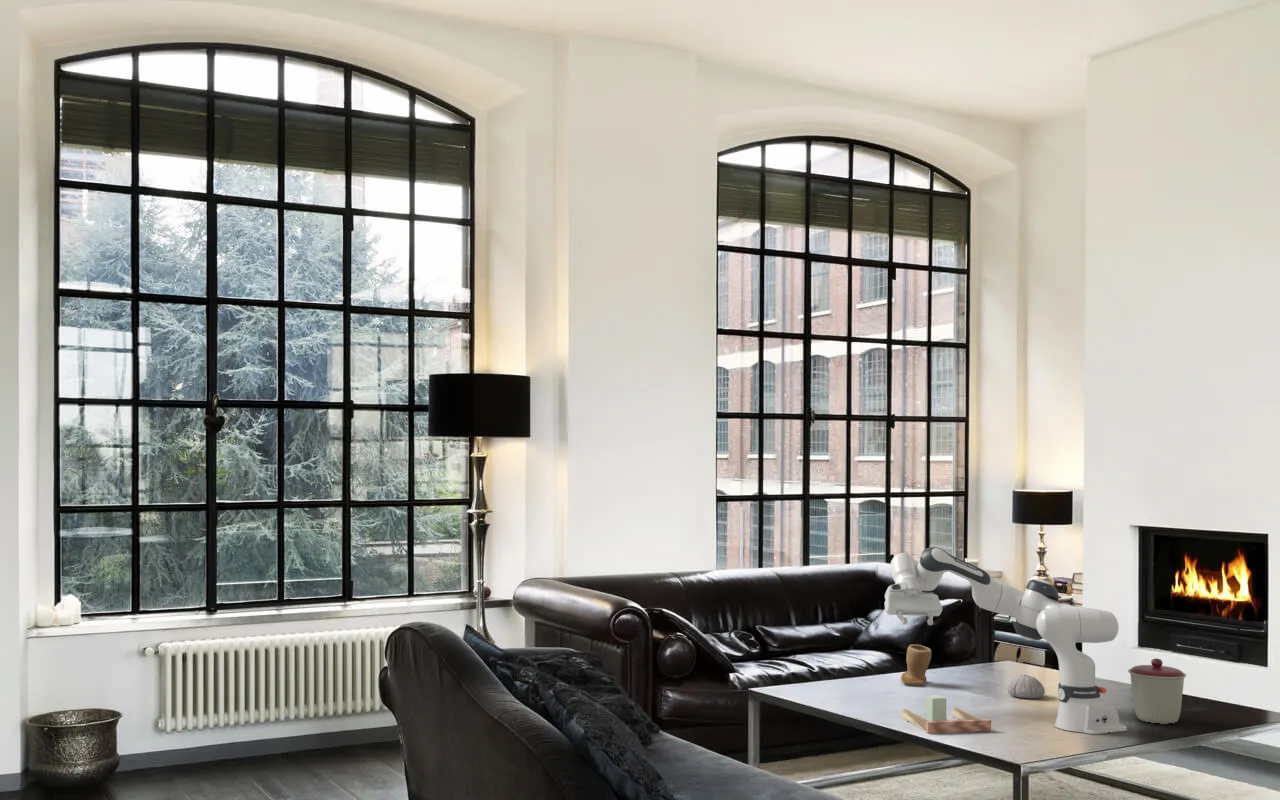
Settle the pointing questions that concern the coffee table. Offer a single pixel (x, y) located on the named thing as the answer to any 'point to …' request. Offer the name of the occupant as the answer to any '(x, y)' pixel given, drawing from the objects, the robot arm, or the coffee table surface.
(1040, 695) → the sea urchin shell
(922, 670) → the tan boot
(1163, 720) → the canister
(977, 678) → the coffee table surface
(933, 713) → the pale green block
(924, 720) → the bay
